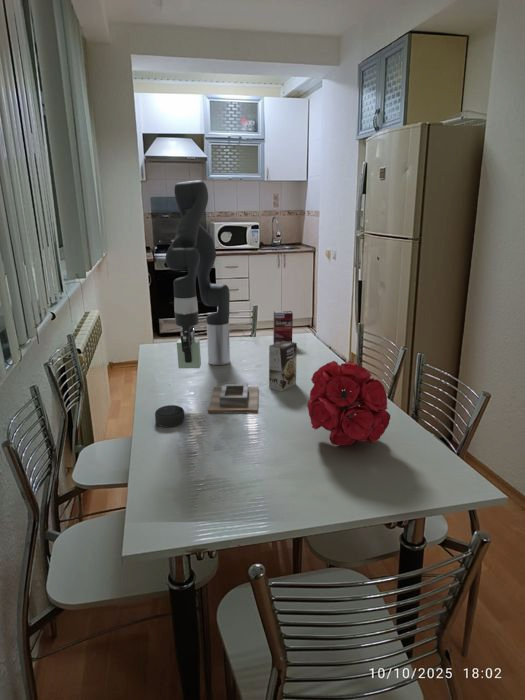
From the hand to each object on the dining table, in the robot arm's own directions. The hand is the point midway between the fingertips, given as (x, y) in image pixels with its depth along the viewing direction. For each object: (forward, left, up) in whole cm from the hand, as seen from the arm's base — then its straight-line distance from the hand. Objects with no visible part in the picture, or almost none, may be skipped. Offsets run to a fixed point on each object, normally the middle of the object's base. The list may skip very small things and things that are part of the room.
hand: (189, 359), depth 159 cm
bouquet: (+28, +48, -15) cm, 57 cm away
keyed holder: (+1, +15, -14) cm, 21 cm away
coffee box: (-12, +32, -15) cm, 37 cm away
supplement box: (-65, +34, -15) cm, 75 cm away
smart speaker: (+17, -4, -15) cm, 23 cm away
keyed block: (0, 0, -2) cm, 2 cm away
